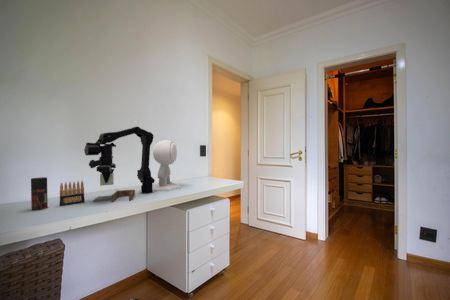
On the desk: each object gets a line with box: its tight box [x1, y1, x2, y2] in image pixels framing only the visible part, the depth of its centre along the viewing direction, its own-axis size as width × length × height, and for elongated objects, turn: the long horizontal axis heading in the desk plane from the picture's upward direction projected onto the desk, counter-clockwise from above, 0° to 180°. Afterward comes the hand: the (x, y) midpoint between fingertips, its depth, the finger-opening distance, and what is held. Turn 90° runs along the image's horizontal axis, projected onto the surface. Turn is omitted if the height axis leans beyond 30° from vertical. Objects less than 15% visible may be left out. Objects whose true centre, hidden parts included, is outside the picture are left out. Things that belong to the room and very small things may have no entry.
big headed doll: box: [152, 139, 181, 192], centre depth 154 cm, size 20×23×35 cm
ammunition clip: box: [59, 180, 86, 207], centre depth 111 cm, size 11×2×12 cm, turn 132°
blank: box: [99, 172, 115, 186], centre depth 120 cm, size 6×4×6 cm, turn 108°
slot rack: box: [110, 189, 136, 203], centre depth 123 cm, size 10×14×4 cm
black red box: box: [30, 176, 49, 211], centre depth 103 cm, size 6×6×15 cm
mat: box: [92, 195, 112, 202], centre depth 122 cm, size 9×9×1 cm
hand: (107, 182), depth 120 cm, fingers closed on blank, 4 cm apart
